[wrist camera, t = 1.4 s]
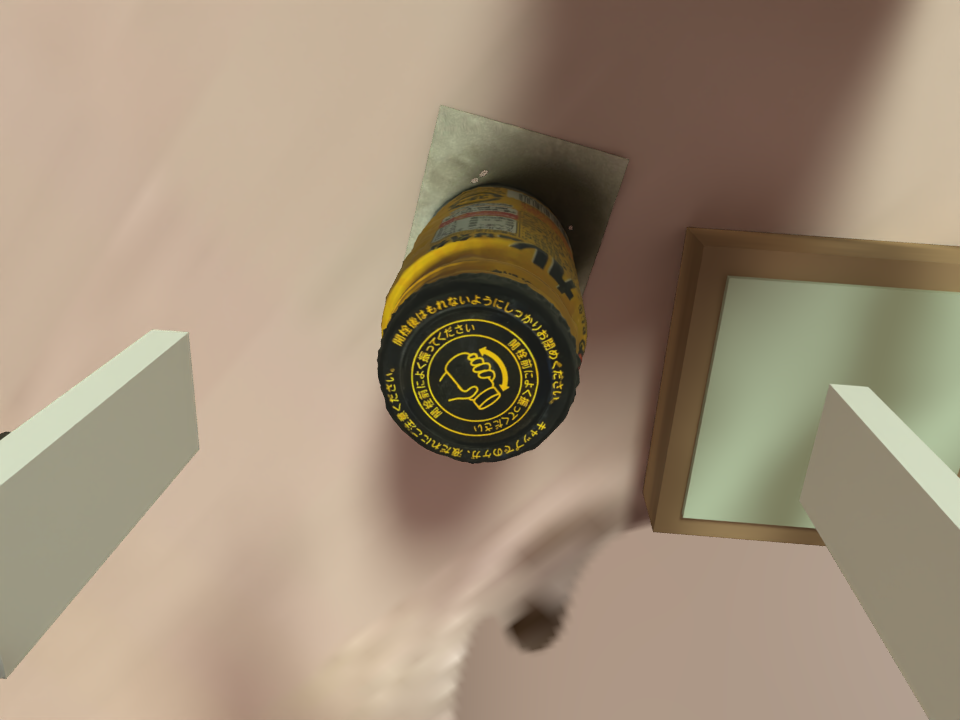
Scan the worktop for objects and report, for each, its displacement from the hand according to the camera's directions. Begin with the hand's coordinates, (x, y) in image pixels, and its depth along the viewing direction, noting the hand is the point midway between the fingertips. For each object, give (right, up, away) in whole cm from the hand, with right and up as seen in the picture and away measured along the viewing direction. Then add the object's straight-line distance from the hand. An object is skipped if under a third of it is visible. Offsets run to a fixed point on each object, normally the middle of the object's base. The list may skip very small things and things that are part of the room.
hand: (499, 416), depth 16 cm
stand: (+13, 0, +16) cm, 21 cm away
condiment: (+1, +6, +14) cm, 16 cm away
